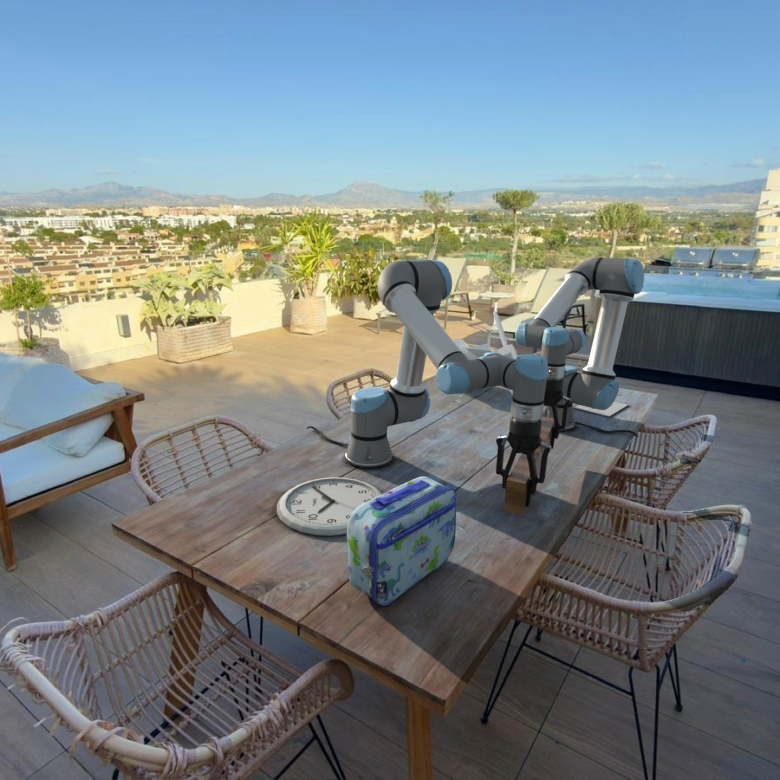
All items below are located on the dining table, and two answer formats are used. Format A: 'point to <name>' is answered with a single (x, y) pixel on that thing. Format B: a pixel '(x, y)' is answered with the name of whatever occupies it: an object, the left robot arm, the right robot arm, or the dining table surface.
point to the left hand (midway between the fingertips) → (517, 501)
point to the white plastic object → (488, 346)
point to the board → (525, 473)
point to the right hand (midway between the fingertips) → (543, 445)
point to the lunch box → (400, 538)
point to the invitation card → (608, 412)
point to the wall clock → (324, 504)
